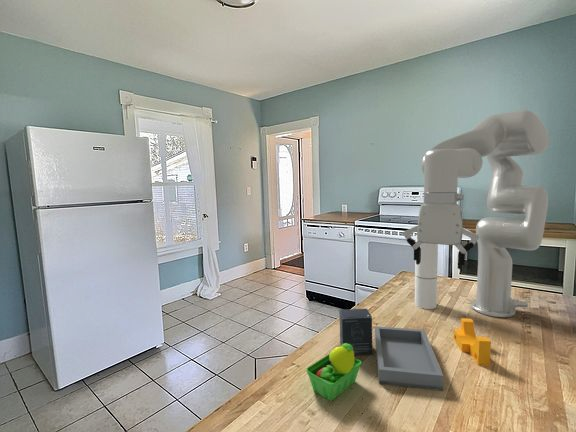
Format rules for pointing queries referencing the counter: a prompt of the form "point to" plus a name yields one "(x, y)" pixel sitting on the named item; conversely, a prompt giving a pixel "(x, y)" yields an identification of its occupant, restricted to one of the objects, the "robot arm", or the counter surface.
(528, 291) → the counter surface
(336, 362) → the fruit basket
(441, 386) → the tray
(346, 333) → the box
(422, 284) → the cylindrical container
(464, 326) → the orange toy block
